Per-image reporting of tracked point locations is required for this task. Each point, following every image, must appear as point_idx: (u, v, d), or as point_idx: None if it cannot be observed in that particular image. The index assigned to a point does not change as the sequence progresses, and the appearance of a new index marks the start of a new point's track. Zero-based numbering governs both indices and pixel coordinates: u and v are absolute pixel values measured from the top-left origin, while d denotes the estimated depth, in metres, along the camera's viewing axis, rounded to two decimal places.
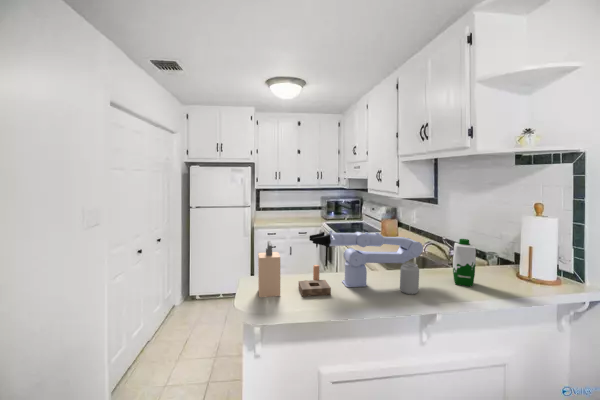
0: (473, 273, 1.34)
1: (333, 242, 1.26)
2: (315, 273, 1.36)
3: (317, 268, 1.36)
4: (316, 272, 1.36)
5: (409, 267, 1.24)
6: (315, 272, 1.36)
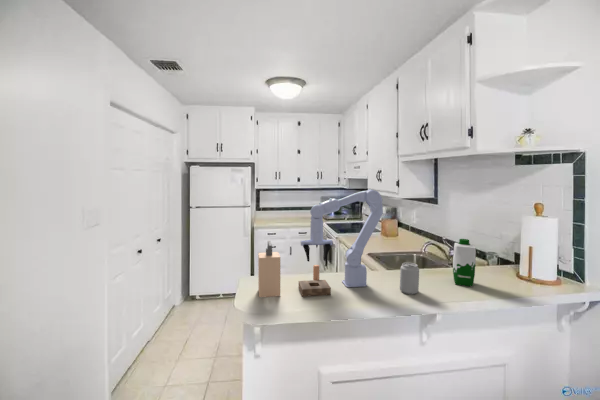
0: (473, 273, 1.34)
1: (301, 243, 1.35)
2: (315, 273, 1.36)
3: (317, 268, 1.36)
4: (316, 272, 1.36)
5: (409, 267, 1.24)
6: (315, 272, 1.36)
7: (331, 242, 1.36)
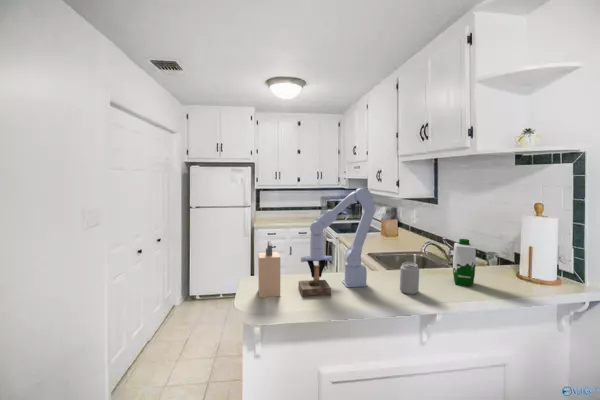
0: (473, 273, 1.34)
1: None
2: (315, 273, 1.36)
3: (317, 268, 1.36)
4: (316, 272, 1.36)
5: (409, 267, 1.24)
6: (315, 272, 1.36)
7: (331, 258, 1.37)
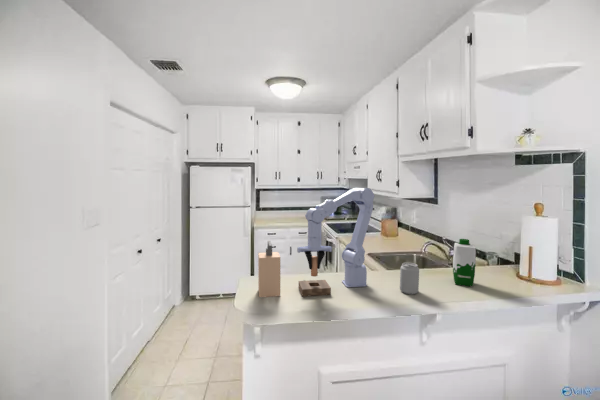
0: (473, 273, 1.34)
1: (297, 249, 1.25)
2: (313, 265, 1.25)
3: (315, 259, 1.25)
4: (314, 263, 1.25)
5: (409, 267, 1.24)
6: (313, 264, 1.25)
7: (330, 248, 1.26)
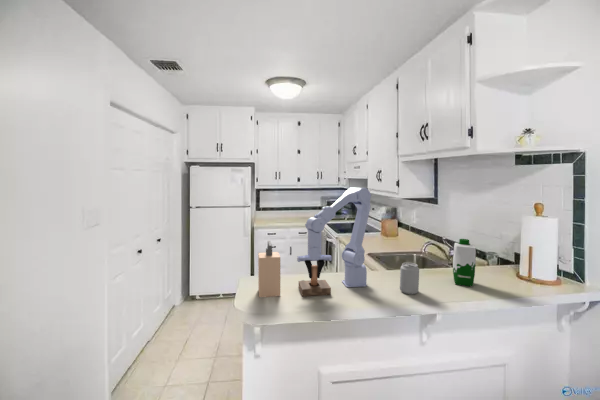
0: (473, 273, 1.34)
1: (297, 259, 1.25)
2: (313, 274, 1.26)
3: (315, 268, 1.25)
4: (314, 272, 1.25)
5: (409, 267, 1.24)
6: (313, 273, 1.26)
7: (330, 258, 1.26)
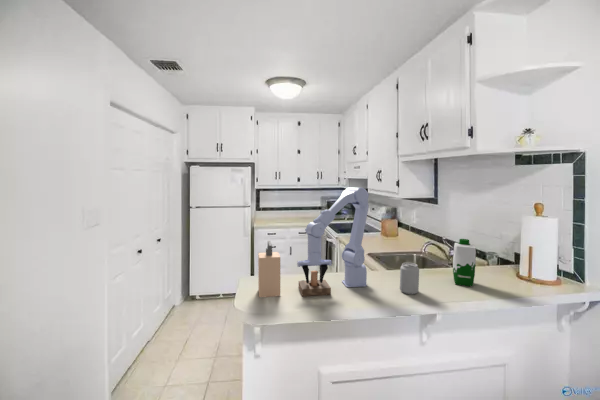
0: (473, 273, 1.34)
1: (297, 264, 1.25)
2: (313, 279, 1.26)
3: (315, 274, 1.26)
4: (314, 278, 1.26)
5: (409, 267, 1.24)
6: (313, 278, 1.26)
7: (330, 262, 1.26)
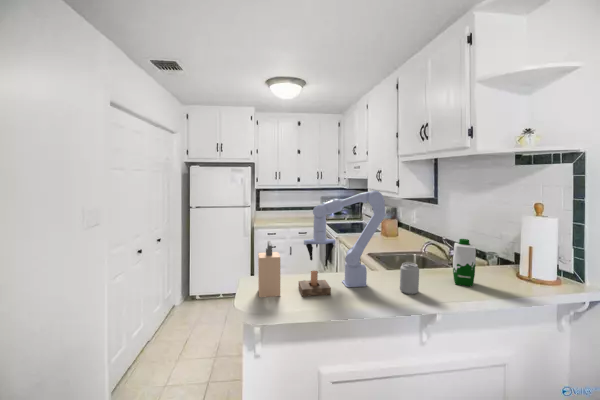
0: (473, 273, 1.34)
1: (304, 242, 1.36)
2: (313, 280, 1.26)
3: (315, 274, 1.26)
4: (314, 278, 1.26)
5: (409, 267, 1.24)
6: (313, 278, 1.26)
7: (334, 241, 1.38)
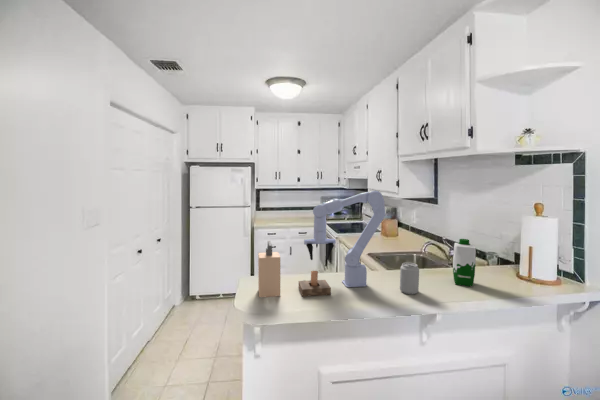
0: (473, 273, 1.34)
1: (304, 242, 1.37)
2: (313, 280, 1.26)
3: (315, 274, 1.25)
4: (314, 278, 1.25)
5: (409, 267, 1.24)
6: (313, 279, 1.26)
7: (334, 241, 1.38)
